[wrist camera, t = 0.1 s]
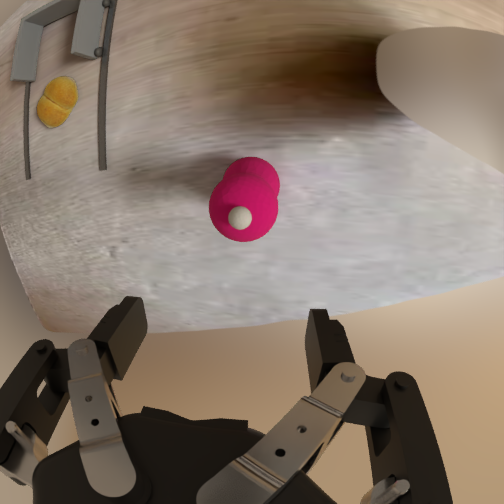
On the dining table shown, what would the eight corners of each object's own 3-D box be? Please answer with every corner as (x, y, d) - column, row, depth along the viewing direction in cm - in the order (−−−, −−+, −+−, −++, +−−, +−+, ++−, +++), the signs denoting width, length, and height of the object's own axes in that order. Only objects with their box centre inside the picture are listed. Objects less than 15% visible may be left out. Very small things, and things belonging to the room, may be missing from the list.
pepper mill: (220, 195, 40) (180, 248, 22) (236, 147, 37) (207, 158, 19) (267, 212, 41) (267, 278, 22) (285, 165, 38) (303, 192, 20)
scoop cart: (39, 26, 27) (18, 20, 21) (112, -5, 26) (94, -18, 21) (30, 83, 32) (7, 82, 26) (102, 57, 32) (80, 50, 26)
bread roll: (87, 88, 34) (74, 86, 30) (62, 133, 37) (47, 134, 33) (62, 69, 32) (48, 66, 28) (39, 111, 35) (24, 112, 31)
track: (37, 20, 27) (36, 19, 26) (120, -15, 26) (119, -16, 25) (27, 179, 40) (26, 179, 39) (106, 169, 39) (105, 170, 39)
